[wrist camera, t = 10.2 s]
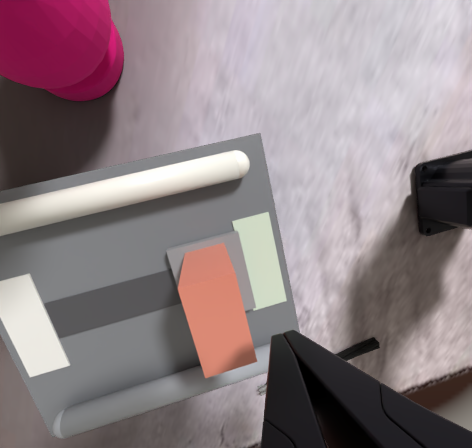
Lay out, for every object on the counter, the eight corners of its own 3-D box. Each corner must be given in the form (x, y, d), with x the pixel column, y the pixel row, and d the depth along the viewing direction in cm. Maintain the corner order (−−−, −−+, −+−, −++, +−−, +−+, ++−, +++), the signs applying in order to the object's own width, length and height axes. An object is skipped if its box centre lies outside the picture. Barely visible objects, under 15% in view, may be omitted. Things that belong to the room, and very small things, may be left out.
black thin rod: (259, 390, 23) (262, 399, 22) (256, 382, 23) (258, 391, 22) (373, 343, 24) (380, 350, 23) (371, 334, 24) (379, 341, 23)
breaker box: (247, 142, 18) (267, 127, 13) (285, 323, 22) (314, 372, 16) (-4, 199, 17) (-102, 209, 11) (80, 386, 20) (36, 464, 15)
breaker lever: (236, 230, 15) (256, 257, 10) (254, 303, 16) (280, 362, 11) (167, 248, 15) (149, 286, 10) (190, 322, 16) (185, 393, 11)
